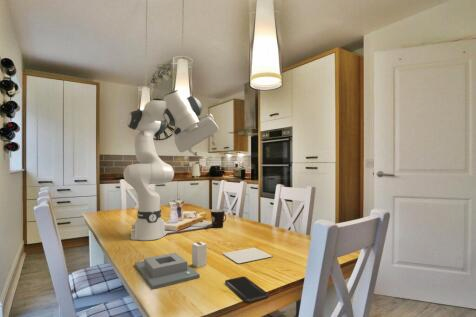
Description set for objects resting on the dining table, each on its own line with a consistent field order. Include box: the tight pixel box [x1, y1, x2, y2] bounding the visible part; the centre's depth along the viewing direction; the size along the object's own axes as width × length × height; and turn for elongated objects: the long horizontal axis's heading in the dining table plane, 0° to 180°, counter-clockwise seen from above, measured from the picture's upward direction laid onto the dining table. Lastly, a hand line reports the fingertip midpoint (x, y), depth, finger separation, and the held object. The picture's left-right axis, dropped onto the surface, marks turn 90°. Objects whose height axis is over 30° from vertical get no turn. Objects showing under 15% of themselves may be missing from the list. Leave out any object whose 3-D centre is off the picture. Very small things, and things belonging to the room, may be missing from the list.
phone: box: [224, 276, 269, 304], centre depth 86 cm, size 8×1×15 cm
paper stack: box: [222, 247, 273, 264], centre depth 111 cm, size 23×25×1 cm
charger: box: [191, 241, 208, 268], centre depth 107 cm, size 4×4×8 cm
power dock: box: [134, 252, 200, 290], centre depth 100 cm, size 24×16×4 cm, turn 33°
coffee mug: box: [210, 209, 227, 229], centre depth 168 cm, size 12×9×10 cm
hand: (206, 150), depth 123 cm, fingers open, 8 cm apart
